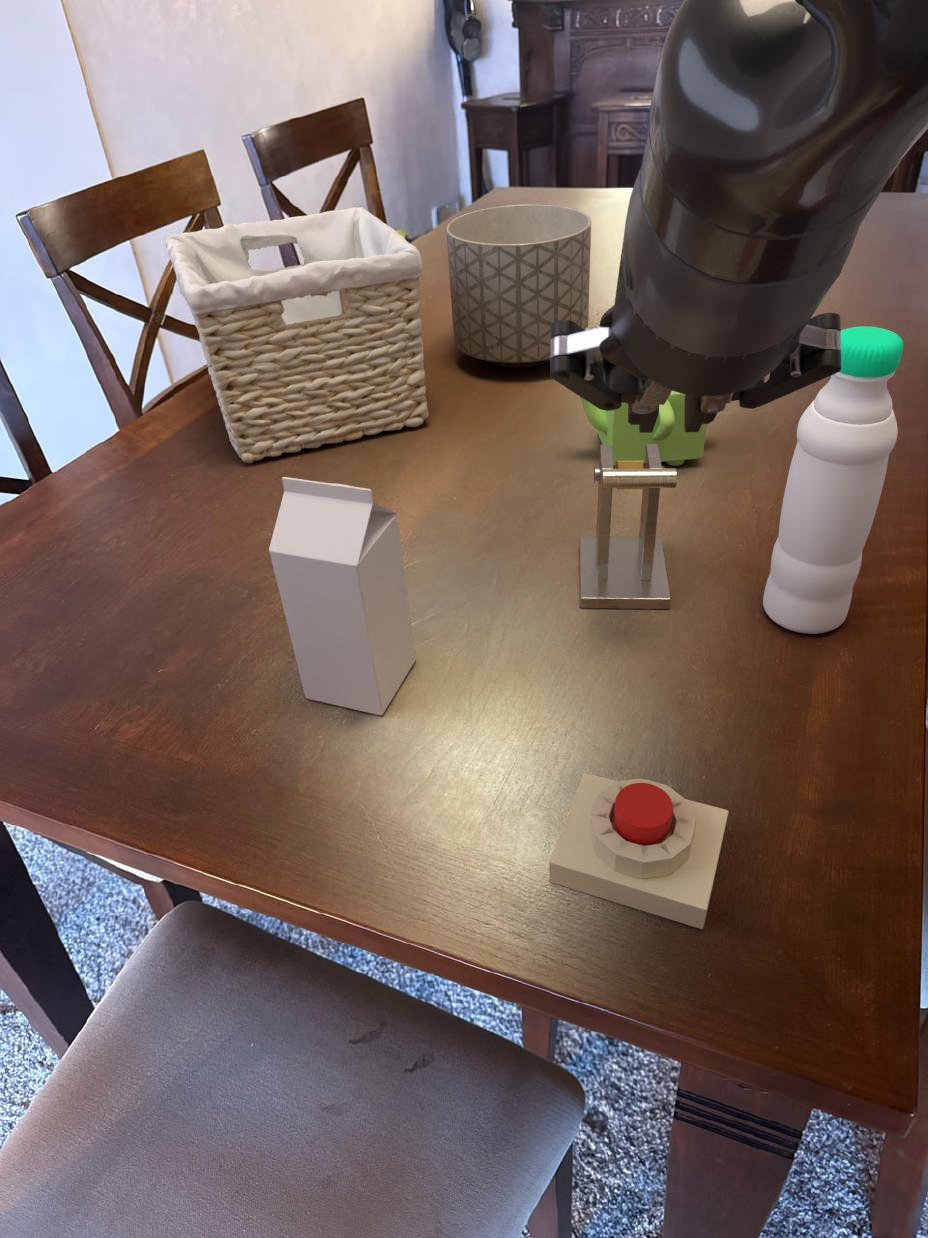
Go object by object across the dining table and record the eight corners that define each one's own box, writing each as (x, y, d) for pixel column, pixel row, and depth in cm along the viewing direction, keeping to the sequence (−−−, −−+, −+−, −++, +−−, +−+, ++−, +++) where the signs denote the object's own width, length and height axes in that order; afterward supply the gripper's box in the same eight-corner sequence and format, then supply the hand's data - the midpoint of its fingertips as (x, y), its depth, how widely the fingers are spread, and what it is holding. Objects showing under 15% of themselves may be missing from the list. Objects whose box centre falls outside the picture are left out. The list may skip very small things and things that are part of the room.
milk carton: (383, 717, 69) (348, 516, 57) (305, 699, 72) (256, 502, 60) (417, 661, 74) (391, 465, 62) (343, 646, 77) (305, 454, 65)
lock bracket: (669, 609, 78) (683, 485, 70) (580, 608, 79) (584, 486, 71) (660, 546, 86) (672, 428, 77) (579, 546, 86) (582, 429, 78)
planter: (470, 392, 116) (462, 251, 105) (444, 341, 131) (434, 213, 119) (605, 372, 118) (611, 232, 107) (564, 325, 133) (566, 197, 122)
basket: (203, 388, 123) (159, 226, 109) (384, 353, 129) (364, 195, 115) (229, 474, 102) (180, 288, 89) (442, 427, 109) (427, 246, 95)
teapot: (733, 444, 101) (746, 356, 94) (681, 495, 93) (691, 403, 86) (618, 415, 108) (622, 331, 102) (560, 459, 100) (561, 372, 94)
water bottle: (862, 616, 75) (946, 335, 60) (809, 648, 73) (882, 362, 57) (797, 578, 80) (858, 309, 64) (744, 608, 77) (795, 333, 62)
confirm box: (548, 882, 57) (548, 845, 54) (583, 792, 62) (584, 754, 60) (703, 930, 53) (710, 893, 51) (724, 830, 59) (732, 792, 56)
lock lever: (676, 494, 65) (677, 462, 64) (602, 494, 65) (603, 462, 65) (659, 487, 76) (659, 460, 76) (596, 487, 77) (596, 460, 77)
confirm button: (607, 835, 55) (608, 818, 54) (621, 794, 57) (623, 776, 56) (664, 852, 54) (666, 834, 53) (676, 808, 56) (678, 790, 55)
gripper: (925, 146, 31) (794, 348, 48) (537, 164, 32) (544, 353, 49) (931, 349, 30) (796, 480, 47) (533, 358, 31) (542, 481, 49)
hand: (667, 415), depth 48 cm, fingers closed
